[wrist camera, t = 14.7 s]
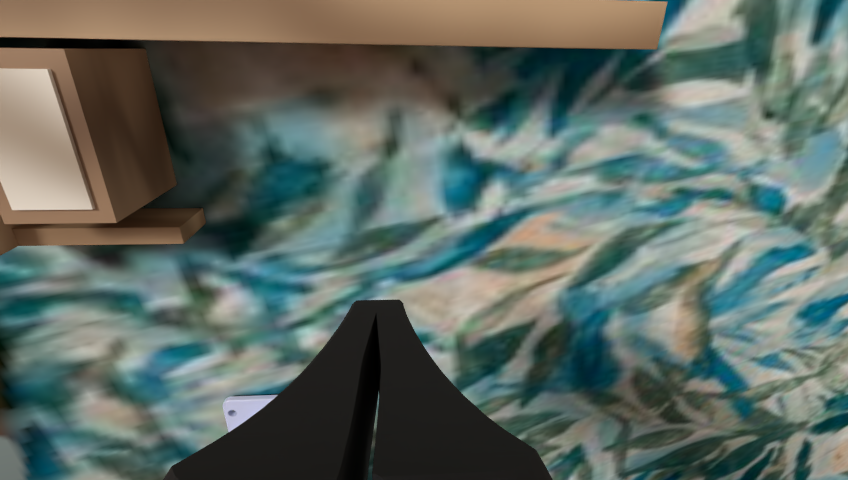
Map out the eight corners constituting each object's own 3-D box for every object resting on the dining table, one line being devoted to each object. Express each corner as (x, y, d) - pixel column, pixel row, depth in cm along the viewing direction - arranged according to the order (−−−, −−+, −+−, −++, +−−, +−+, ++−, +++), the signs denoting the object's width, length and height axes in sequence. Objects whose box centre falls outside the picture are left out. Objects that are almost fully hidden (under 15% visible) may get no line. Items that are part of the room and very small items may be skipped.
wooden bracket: (573, 219, 23) (611, 255, 19) (26, 224, 21) (-58, 265, 17) (609, 11, 19) (667, 1, 15) (-64, -5, 17) (-203, -22, 13)
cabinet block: (177, 184, 21) (114, 224, 16) (91, 184, 20) (0, 225, 16) (146, 48, 18) (60, 48, 13) (47, 47, 18) (-76, 46, 13)
